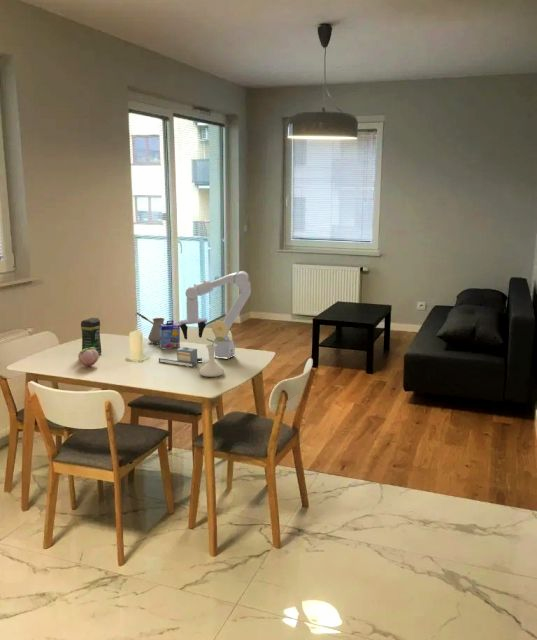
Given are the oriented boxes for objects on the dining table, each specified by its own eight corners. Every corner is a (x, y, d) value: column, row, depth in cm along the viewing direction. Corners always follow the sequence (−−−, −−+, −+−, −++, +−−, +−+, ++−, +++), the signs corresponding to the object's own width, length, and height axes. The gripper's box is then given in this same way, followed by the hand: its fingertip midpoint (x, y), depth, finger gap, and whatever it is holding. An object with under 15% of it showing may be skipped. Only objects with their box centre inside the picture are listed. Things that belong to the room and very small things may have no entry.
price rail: (205, 362, 294) (205, 358, 294) (193, 367, 285) (193, 363, 285) (170, 357, 303) (170, 353, 303) (158, 362, 294) (158, 358, 294)
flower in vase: (201, 379, 267) (200, 323, 262) (197, 372, 278) (196, 318, 273) (230, 377, 271) (230, 322, 266) (225, 370, 282) (225, 317, 276)
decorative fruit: (89, 363, 291) (88, 342, 289) (102, 365, 288) (101, 345, 285) (74, 368, 283) (73, 347, 281) (87, 370, 279) (86, 349, 277)
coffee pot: (174, 341, 334) (173, 314, 331) (160, 346, 325) (160, 318, 322) (143, 336, 345) (142, 310, 341) (129, 341, 335) (128, 314, 332)
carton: (183, 361, 297) (183, 347, 295) (197, 363, 293) (197, 349, 292) (177, 363, 292) (176, 349, 291) (191, 365, 289) (191, 351, 287)
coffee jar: (93, 358, 300) (91, 321, 296) (79, 356, 302) (77, 319, 299) (104, 353, 309) (102, 317, 306) (90, 351, 312) (88, 316, 308)
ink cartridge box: (162, 349, 318) (161, 321, 315) (159, 346, 323) (158, 319, 320) (180, 347, 322) (180, 320, 319) (177, 345, 327) (176, 318, 324)
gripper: (181, 313, 293) (182, 341, 296) (209, 311, 300) (209, 338, 303) (176, 311, 299) (176, 338, 302) (203, 308, 306) (204, 335, 309)
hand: (193, 338), depth 303 cm, fingers open, 7 cm apart
